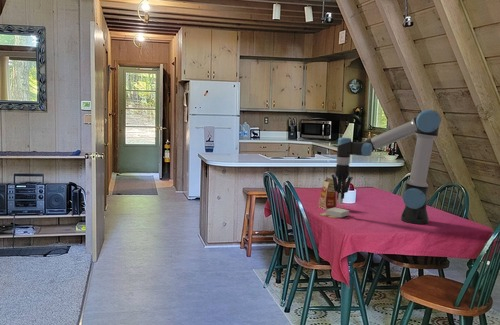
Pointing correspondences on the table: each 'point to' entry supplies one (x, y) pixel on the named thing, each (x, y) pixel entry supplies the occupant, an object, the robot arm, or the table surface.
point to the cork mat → (328, 215)
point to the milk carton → (328, 195)
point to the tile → (337, 212)
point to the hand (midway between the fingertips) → (340, 203)
